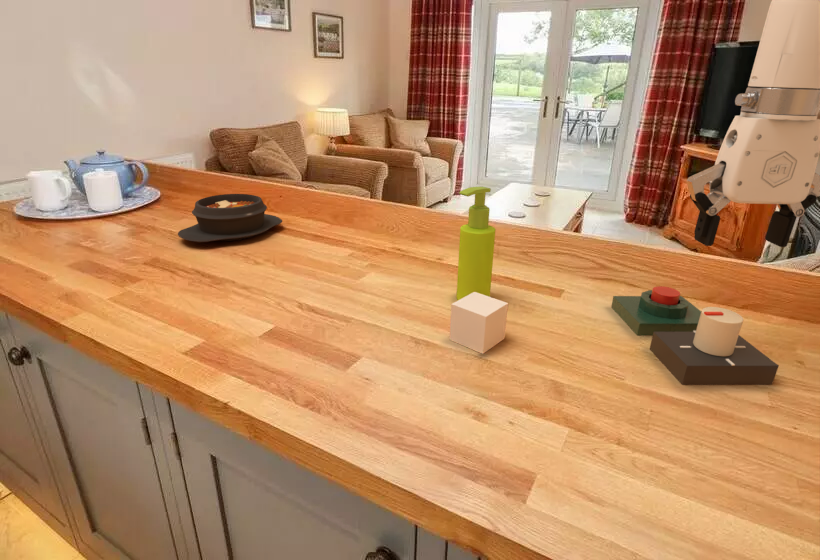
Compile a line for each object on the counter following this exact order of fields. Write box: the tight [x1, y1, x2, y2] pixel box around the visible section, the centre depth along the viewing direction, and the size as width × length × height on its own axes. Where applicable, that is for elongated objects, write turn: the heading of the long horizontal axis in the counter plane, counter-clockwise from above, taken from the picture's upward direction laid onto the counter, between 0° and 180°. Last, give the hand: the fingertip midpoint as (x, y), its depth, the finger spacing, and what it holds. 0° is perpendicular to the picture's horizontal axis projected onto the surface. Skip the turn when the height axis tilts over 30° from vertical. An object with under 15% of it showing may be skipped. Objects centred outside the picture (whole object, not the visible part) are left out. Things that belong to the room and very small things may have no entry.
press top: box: [651, 285, 681, 305], centre depth 79 cm, size 4×4×2 cm
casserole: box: [177, 193, 283, 243], centre depth 118 cm, size 25×19×8 cm
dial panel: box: [649, 331, 779, 386], centre depth 68 cm, size 12×9×3 cm
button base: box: [610, 289, 702, 337], centre depth 80 cm, size 12×10×4 cm
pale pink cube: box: [449, 292, 509, 355], centre depth 73 cm, size 6×6×6 cm
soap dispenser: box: [456, 186, 497, 301], centre depth 83 cm, size 6×7×20 cm
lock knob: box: [693, 306, 744, 356], centre depth 66 cm, size 5×5×5 cm
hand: (739, 243), depth 64 cm, fingers open, 9 cm apart
